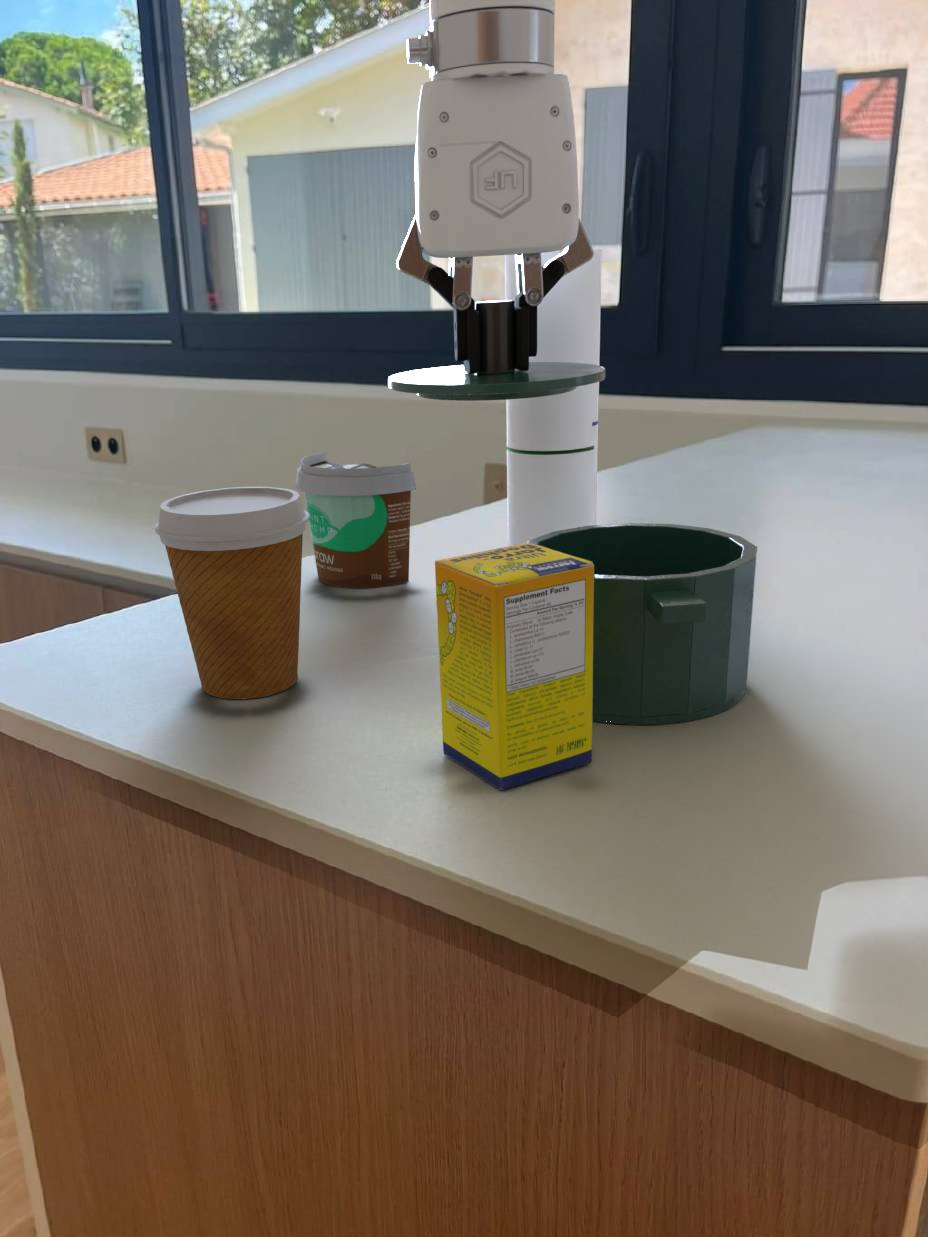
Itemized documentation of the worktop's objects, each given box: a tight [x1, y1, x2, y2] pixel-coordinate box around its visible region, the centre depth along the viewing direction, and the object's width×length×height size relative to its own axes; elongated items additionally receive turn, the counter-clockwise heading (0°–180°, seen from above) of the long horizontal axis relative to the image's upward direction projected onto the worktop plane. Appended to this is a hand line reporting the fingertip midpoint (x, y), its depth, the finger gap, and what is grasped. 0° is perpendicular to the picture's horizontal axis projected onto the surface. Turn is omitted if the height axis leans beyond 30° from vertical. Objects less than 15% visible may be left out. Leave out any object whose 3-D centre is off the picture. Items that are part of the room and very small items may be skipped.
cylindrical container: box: [504, 248, 603, 547], centre depth 87 cm, size 7×7×25 cm
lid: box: [387, 299, 607, 402], centre depth 74 cm, size 15×15×6 cm
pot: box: [527, 522, 758, 726], centre depth 67 cm, size 14×19×8 cm
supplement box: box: [434, 543, 594, 791], centre depth 57 cm, size 6×6×11 cm
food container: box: [295, 450, 417, 589], centre depth 93 cm, size 12×6×10 cm, turn 40°
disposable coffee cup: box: [154, 486, 309, 700], centre depth 70 cm, size 10×10×12 cm
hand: (495, 368), depth 75 cm, fingers closed on lid, 2 cm apart
